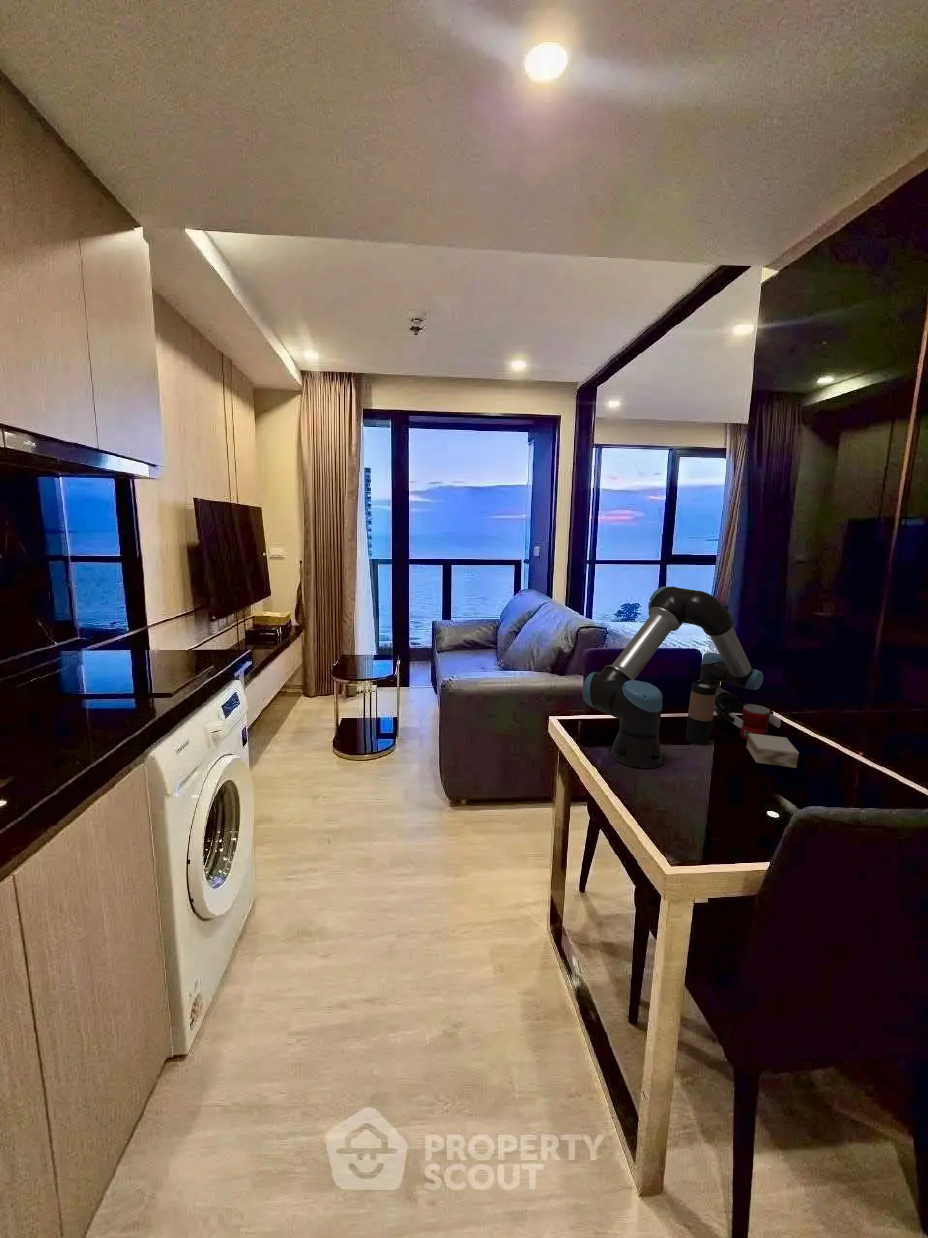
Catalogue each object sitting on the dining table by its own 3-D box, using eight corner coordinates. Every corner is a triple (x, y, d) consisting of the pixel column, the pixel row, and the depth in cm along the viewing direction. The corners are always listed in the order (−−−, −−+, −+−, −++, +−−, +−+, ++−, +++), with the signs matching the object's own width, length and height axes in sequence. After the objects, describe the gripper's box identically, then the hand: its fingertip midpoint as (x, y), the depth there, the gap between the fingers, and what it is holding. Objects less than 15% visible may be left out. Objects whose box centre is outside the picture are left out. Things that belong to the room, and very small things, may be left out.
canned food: (769, 744, 168) (774, 713, 166) (743, 741, 170) (748, 711, 168) (760, 734, 176) (765, 705, 173) (736, 732, 177) (740, 703, 175)
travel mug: (685, 743, 168) (692, 686, 164) (684, 734, 175) (691, 679, 171) (710, 747, 165) (718, 689, 161) (708, 738, 172) (716, 682, 168)
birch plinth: (756, 762, 155) (758, 747, 154) (746, 747, 166) (748, 733, 165) (796, 767, 152) (799, 752, 151) (783, 751, 163) (786, 737, 162)
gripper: (752, 709, 191) (793, 733, 171) (690, 710, 189) (724, 735, 168) (755, 691, 190) (796, 713, 169) (692, 692, 187) (727, 714, 167)
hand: (760, 724), depth 169 cm, fingers open, 13 cm apart
